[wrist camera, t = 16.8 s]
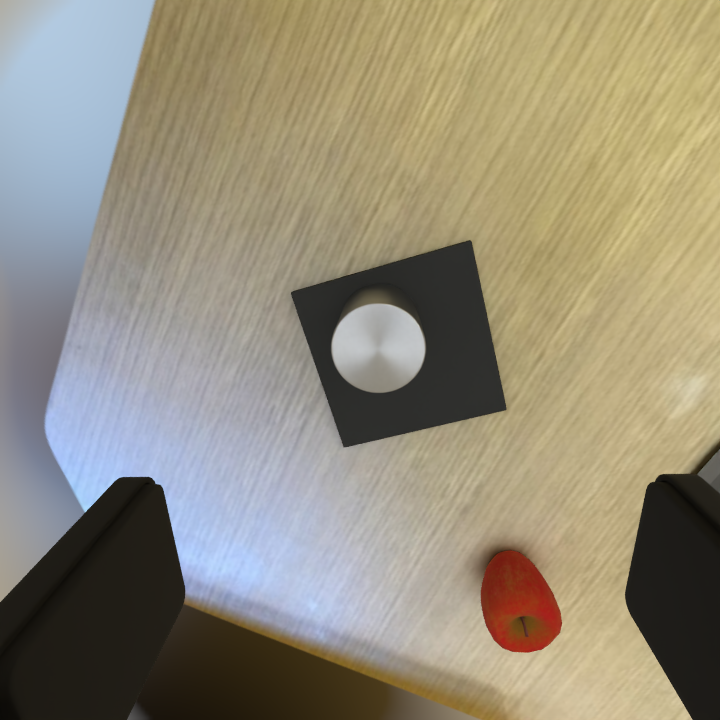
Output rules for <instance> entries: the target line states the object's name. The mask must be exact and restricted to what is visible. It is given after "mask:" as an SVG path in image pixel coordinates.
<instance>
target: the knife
mask: <svg viewBox="0 0 720 720" xmlns="http://www.w3.org/2000/svg"><path fill="white" fill-rule="evenodd" d="M697 475H698V476H700V477H701V478H703V479H704V480H705V481H706V482H707V483H709V484H710V485H711V486H712V487H713V488H714V489H715V490H717V491H718V492H719V493H720V450H719V451H718V452H717V453H716V454H715V455H714V456H713V457H712V458H711V459H710V460H709V462H708V463H707V464H706V465H705V466H704V467H703V468H702V469H701V471H700V472H699V473H698V474H697Z"/></svg>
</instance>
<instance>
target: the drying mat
mask: <svg viewBox="0 0 720 720" xmlns="http://www.w3.org/2000/svg"><path fill="white" fill-rule="evenodd" d="M378 283H382V284H389V285H393V286H395V287H397V288H400V289H401V290H403V291H404V292H405V293H406V294H408V296H409V297H410V298H411V299H412V301H413V302H414V304H415V306H416V308H417V311H418V315H419V318H420V322H421V326H422V329H423V333H424V336H425V342H426V355H425V359H424V362H423V365H422V367H421V369H420V371H419V372H418V374H417V375H416V376H415V377H414V378H413V379H412V380H411V381H410V382H409V383H408V384H406V385H405V386H403V387H401V388H399V389H397V390H394V391H390V392H385V393H372V392H367V391H364V390H361V389H359V388H356V387H355V386H353V385H351V384H350V383H349V382H347V381H346V380H345V379H344V378H343V377H342V376H341V374H340V373H339V372H338V370H337V368H336V367H335V364H334V362H333V358H332V353H331V342H332V337H333V333H334V331H335V328H336V326H337V323H338V321H339V318H340V316H341V313H342V311H343V308H344V306H345V304H346V302H347V301H348V299H349V298H350V297H351V296H352V295H353V294H354V293H355V292H356V291H358V290H359V289H361V288H363V287H365V286H368V285H371V284H378ZM291 295H292V298H293V301H294V304H295V307H296V310H297V313H298V316H299V319H300V321H301V324H302V327H303V330H304V333H305V336H306V339H307V342H308V345H309V348H310V350H311V353H312V356H313V359H314V362H315V365H316V368H317V371H318V374H319V377H320V379H321V382H322V385H323V388H324V391H325V394H326V397H327V400H328V403H329V406H330V408H331V411H332V414H333V417H334V420H335V423H336V426H337V429H338V432H339V435H340V437H341V440H342V443H343V446H344V447H349V446H353V445H357V444H362V443H366V442H370V441H374V440H379V439H383V438H387V437H392V436H396V435H400V434H405V433H409V432H413V431H418V430H422V429H426V428H431V427H435V426H439V425H444V424H448V423H452V422H456V421H461V420H465V419H469V418H474V417H478V416H482V415H487V414H491V413H495V412H500V411H504V410H506V404H505V399H504V394H503V390H502V385H501V380H500V375H499V371H498V366H497V361H496V356H495V352H494V347H493V342H492V337H491V332H490V328H489V323H488V318H487V313H486V309H485V304H484V299H483V294H482V289H481V285H480V280H479V275H478V270H477V266H476V261H475V256H474V251H473V247H472V242H471V241H470V240H469V241H466V242H462V243H459V244H455V245H452V246H448V247H445V248H441V249H438V250H435V251H431V252H428V253H424V254H421V255H417V256H414V257H410V258H407V259H403V260H400V261H397V262H393V263H390V264H386V265H383V266H379V267H376V268H372V269H369V270H365V271H362V272H359V273H355V274H352V275H348V276H345V277H341V278H338V279H334V280H331V281H327V282H324V283H321V284H317V285H314V286H310V287H307V288H303V289H300V290H296V291H293V292H291Z"/></svg>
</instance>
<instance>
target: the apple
mask: <svg viewBox="0 0 720 720" xmlns="http://www.w3.org/2000/svg"><path fill="white" fill-rule="evenodd" d="M481 605H482V611H483V616H484V619H485V623H486V626H487V628H488V630H489V632H490V634H491V635H492V637H493V639H494V641H496V642H497V643H498V644H499V645H500V646H501V647H502V648H504V649H506V650H509V651H512V652H527V653H528V652H533V651H537V650H542V649H543V648H545V647H546V646H548V645H549V644H550V643H551V642H552V641H553V640H554V639H555V638H556V637H557V635H558V634H559V633H560V630H561V626H562V620H561V612H560V609H559V607H558V605H557V602H556V600H555V597H554V595H553V592H552V591H551V589H550V587H549V586H548V584H547V582H546V581H545V579H544V578H543V576H542V575H541V573H540V572H539V571H538V569H537V568H536V567H535V565H534V564H533V563H532V562H531V561H530V560H529V559H527V558H526V557H525V556H524V555H522V554H521V553H519V552H516V551H512V550H509V551H504V552H500V553H498V554H496V555H495V556H494V557H493V559H492V560H491V561H490V563H489V564H488V566H487V568H486V571H485V574H484V578H483V582H482V588H481Z"/></svg>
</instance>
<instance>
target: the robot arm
mask: <svg viewBox="0 0 720 720" xmlns="http://www.w3.org/2000/svg"><path fill="white" fill-rule="evenodd" d="M184 599H185V585H184V580H183V576H182V572H181V567H180V563H179V558H178V554H177V549H176V545H175V540H174V536H173V531H172V527H171V522H170V518H169V513H168V509H167V504H166V500H165V495H164V491H163V488H162V487H161V485H158V484H155V481H154V480H153V479H152V478H150V477H122V478H119V479H117V480H116V481H115V482H114V483H113V484H112V485H111V486H110V487H109V488H108V489H107V490H106V491H105V492H104V493H103V495H102V496H101V497H100V498H99V499H98V500H97V501H96V502H95V503H94V504H93V505H92V506H91V507H90V508H89V509H88V510H87V511H86V512H85V513H84V515H83V516H82V517H81V518H80V519H79V520H78V521H77V522H76V523H75V524H74V525H73V526H72V527H71V528H70V529H69V531H67V532H66V534H65V535H64V536H63V537H62V538H61V539H60V540H59V541H58V542H57V543H56V544H55V545H54V546H53V547H52V548H51V549H50V550H49V552H48V553H47V554H46V555H45V556H44V557H43V558H42V559H41V560H40V561H39V562H38V563H37V564H36V565H35V566H34V567H33V568H32V569H31V570H30V572H29V573H28V574H27V575H26V576H25V577H24V578H23V579H22V580H21V581H20V582H19V583H18V584H17V585H16V586H15V587H14V588H13V589H12V591H11V592H10V593H9V594H8V595H7V596H6V597H5V598H4V599H3V600H2V601H1V602H0V720H127V718H128V716H129V714H130V712H131V710H132V708H133V706H134V704H135V702H136V700H137V698H138V696H139V694H140V692H141V690H142V688H143V686H144V684H145V682H146V679H147V678H148V676H149V674H150V672H151V670H152V668H153V666H154V664H155V661H156V659H157V658H158V656H159V653H160V651H161V649H162V647H163V645H164V643H165V641H166V639H167V637H168V635H169V633H170V631H171V629H172V627H173V625H174V623H175V621H176V619H177V617H178V614H179V613H180V611H181V609H182V606H183V603H184ZM625 599H626V604H627V607H628V610H629V612H630V614H631V616H632V618H633V620H634V621H635V623H636V625H637V626H638V628H639V630H640V631H641V633H642V635H643V636H644V638H645V640H646V642H647V643H648V645H649V647H650V648H651V650H652V652H653V653H654V655H655V657H656V658H657V660H658V662H659V664H660V665H661V667H662V669H663V670H664V672H665V674H666V675H667V677H668V679H669V680H670V682H671V684H672V685H673V687H674V689H675V691H676V692H677V694H678V696H679V697H680V699H681V701H682V702H683V704H684V706H685V707H686V709H687V711H688V713H689V714H690V716H691V718H692V719H693V720H720V493H719V492H718V491H717V490H715V489H714V488H713V487H712V486H711V485H710V484H709V483H707V482H706V481H705V480H704V479H703V478H701V477H700V476H698V475H695V474H662V475H659V476H658V477H657V479H656V481H655V482H652V483H650V484H649V485H648V486H647V489H646V494H645V498H644V503H643V508H642V513H641V518H640V523H639V528H638V532H637V537H636V542H635V547H634V552H633V557H632V561H631V566H630V571H629V576H628V581H627V586H626V591H625Z"/></svg>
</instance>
